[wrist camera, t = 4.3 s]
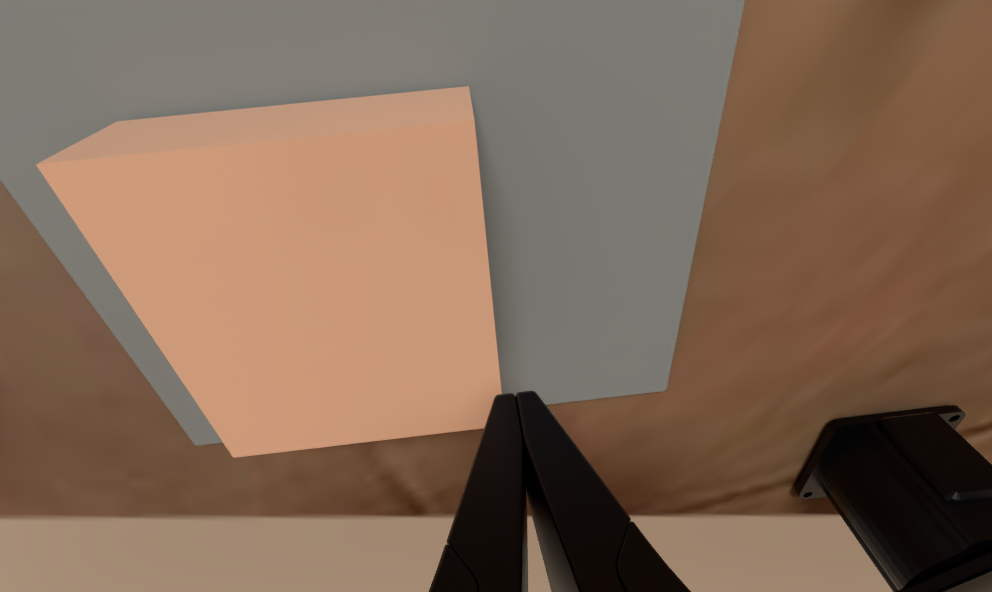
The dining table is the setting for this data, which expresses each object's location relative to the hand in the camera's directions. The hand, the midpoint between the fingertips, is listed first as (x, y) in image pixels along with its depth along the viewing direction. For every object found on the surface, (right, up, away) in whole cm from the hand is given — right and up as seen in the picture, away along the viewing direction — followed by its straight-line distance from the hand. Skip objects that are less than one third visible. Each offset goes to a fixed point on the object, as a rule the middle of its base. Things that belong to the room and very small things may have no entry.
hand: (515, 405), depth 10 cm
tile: (-1, +3, +4) cm, 5 cm away
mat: (-4, +4, +6) cm, 8 cm away
